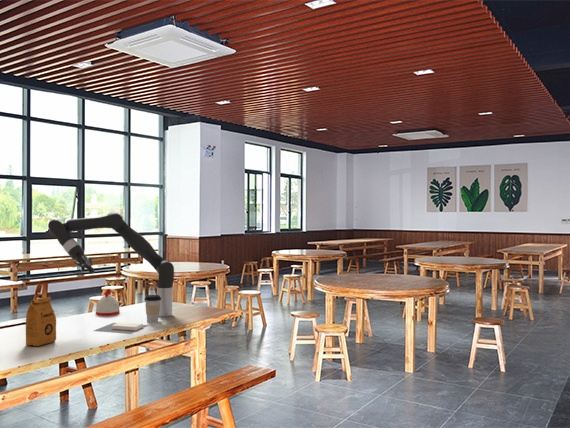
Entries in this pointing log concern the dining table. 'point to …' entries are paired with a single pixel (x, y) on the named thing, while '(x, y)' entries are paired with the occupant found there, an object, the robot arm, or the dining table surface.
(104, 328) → the mat
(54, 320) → the coffee package
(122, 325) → the tile
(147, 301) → the coffee cup
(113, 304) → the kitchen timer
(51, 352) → the dining table surface
